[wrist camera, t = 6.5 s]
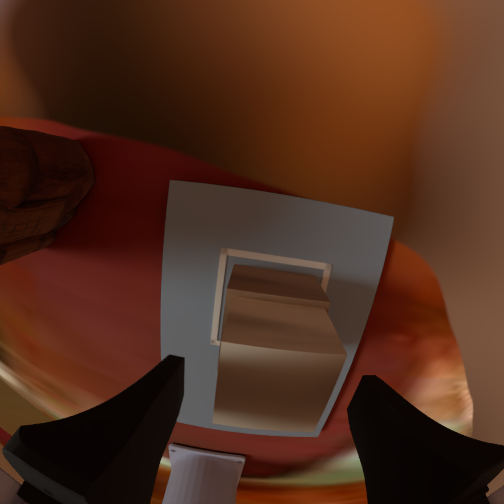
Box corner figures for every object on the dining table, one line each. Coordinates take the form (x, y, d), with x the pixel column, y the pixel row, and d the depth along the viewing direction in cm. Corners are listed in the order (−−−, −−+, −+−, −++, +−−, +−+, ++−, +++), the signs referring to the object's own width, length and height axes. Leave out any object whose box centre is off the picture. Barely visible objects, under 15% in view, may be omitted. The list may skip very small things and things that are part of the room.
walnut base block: (298, 344, 18) (306, 381, 14) (224, 334, 18) (217, 371, 14) (314, 275, 17) (330, 302, 13) (234, 264, 17) (226, 288, 13)
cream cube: (303, 379, 14) (313, 432, 10) (221, 369, 14) (211, 423, 10) (324, 308, 13) (347, 354, 9) (232, 295, 13) (221, 341, 9)
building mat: (316, 430, 21) (317, 437, 20) (166, 413, 21) (164, 419, 20) (388, 215, 16) (394, 217, 15) (173, 180, 16) (169, 179, 15)
